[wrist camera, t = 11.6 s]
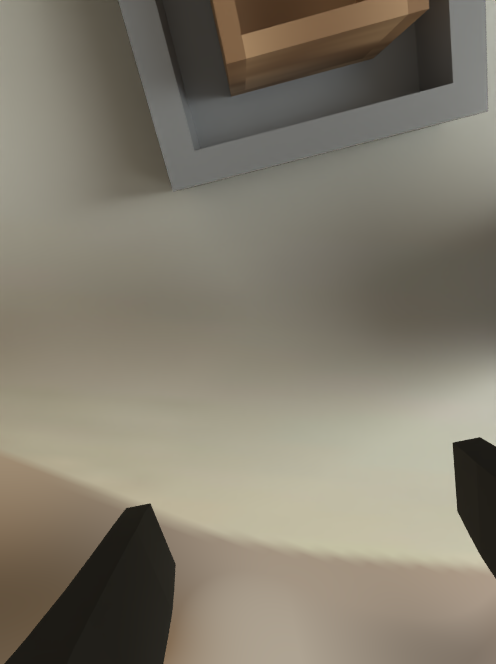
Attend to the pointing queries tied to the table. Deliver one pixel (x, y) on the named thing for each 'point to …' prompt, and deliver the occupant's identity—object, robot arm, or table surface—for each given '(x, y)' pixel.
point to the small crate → (304, 36)
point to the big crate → (298, 90)
